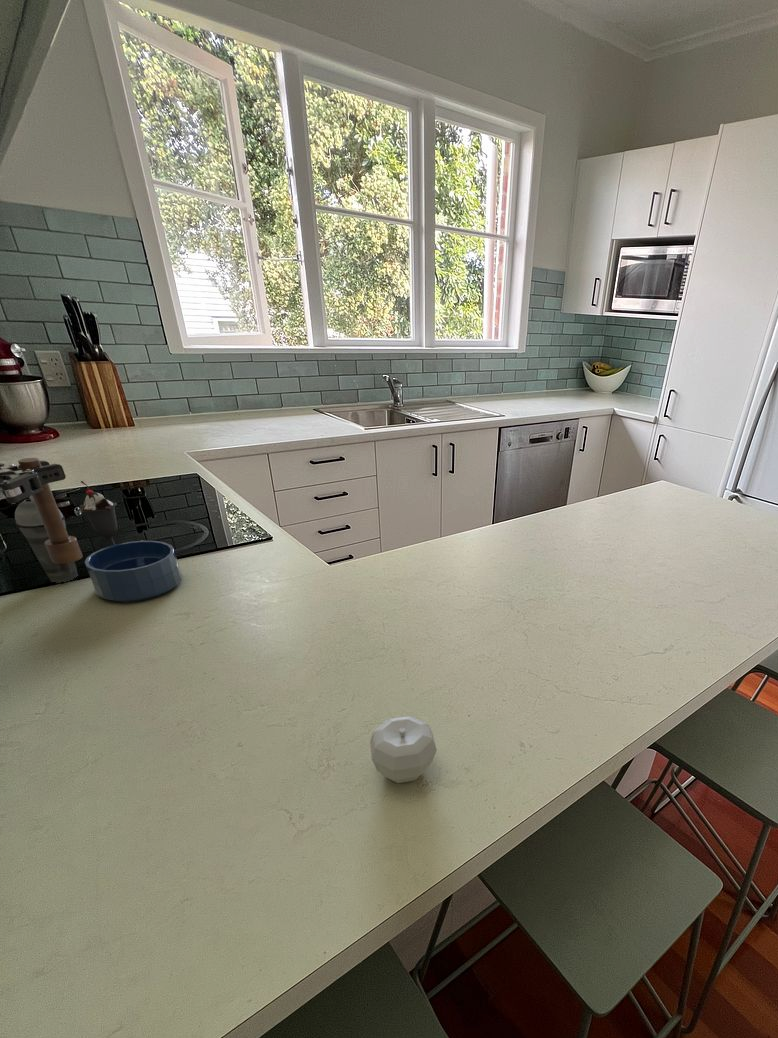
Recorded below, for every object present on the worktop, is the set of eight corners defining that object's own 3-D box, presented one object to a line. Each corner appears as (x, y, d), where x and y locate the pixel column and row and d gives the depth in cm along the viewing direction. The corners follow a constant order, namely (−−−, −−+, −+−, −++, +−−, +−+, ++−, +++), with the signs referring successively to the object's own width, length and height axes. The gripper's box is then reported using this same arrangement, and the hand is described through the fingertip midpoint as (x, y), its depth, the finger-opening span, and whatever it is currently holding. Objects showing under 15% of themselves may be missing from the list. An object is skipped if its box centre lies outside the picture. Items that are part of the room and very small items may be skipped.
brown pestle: (46, 563, 82) (3, 463, 74) (61, 553, 86) (22, 456, 78) (74, 564, 82) (34, 463, 74) (88, 553, 86) (52, 456, 78)
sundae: (100, 547, 118) (75, 478, 110) (134, 544, 120) (112, 476, 112) (91, 559, 113) (64, 487, 105) (128, 556, 115) (104, 485, 107)
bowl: (81, 604, 96) (67, 571, 93) (120, 571, 108) (109, 540, 105) (164, 604, 98) (154, 571, 94) (193, 571, 110) (185, 540, 106)
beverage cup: (42, 589, 101) (-6, 482, 90) (40, 575, 106) (-5, 471, 95) (88, 580, 104) (47, 476, 94) (84, 567, 109) (45, 466, 99)
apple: (416, 739, 70) (414, 699, 66) (450, 777, 64) (450, 735, 61) (359, 765, 65) (354, 724, 62) (391, 807, 60) (387, 765, 57)
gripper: (-77, 479, 62) (77, 449, 75) (-138, 461, 66) (16, 436, 80) (-45, 541, 66) (95, 502, 79) (-105, 520, 70) (37, 487, 84)
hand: (55, 469), depth 79 cm, fingers closed on brown pestle, 2 cm apart
